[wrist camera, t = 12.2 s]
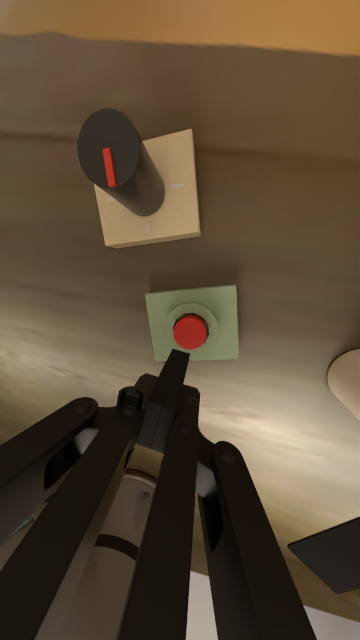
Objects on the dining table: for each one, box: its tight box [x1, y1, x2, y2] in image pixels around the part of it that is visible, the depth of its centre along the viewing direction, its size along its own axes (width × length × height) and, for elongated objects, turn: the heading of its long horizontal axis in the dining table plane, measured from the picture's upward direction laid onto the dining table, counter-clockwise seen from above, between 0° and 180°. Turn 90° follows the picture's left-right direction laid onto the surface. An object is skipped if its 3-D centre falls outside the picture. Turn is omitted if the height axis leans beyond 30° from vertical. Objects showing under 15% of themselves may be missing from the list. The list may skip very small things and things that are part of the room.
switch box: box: [145, 284, 239, 362], centre depth 26 cm, size 12×10×4 cm
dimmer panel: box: [94, 129, 201, 248], centre depth 23 cm, size 12×10×3 cm
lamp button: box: [173, 315, 207, 350], centre depth 23 cm, size 4×4×2 cm
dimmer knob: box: [78, 109, 165, 217], centre depth 18 cm, size 5×5×8 cm
